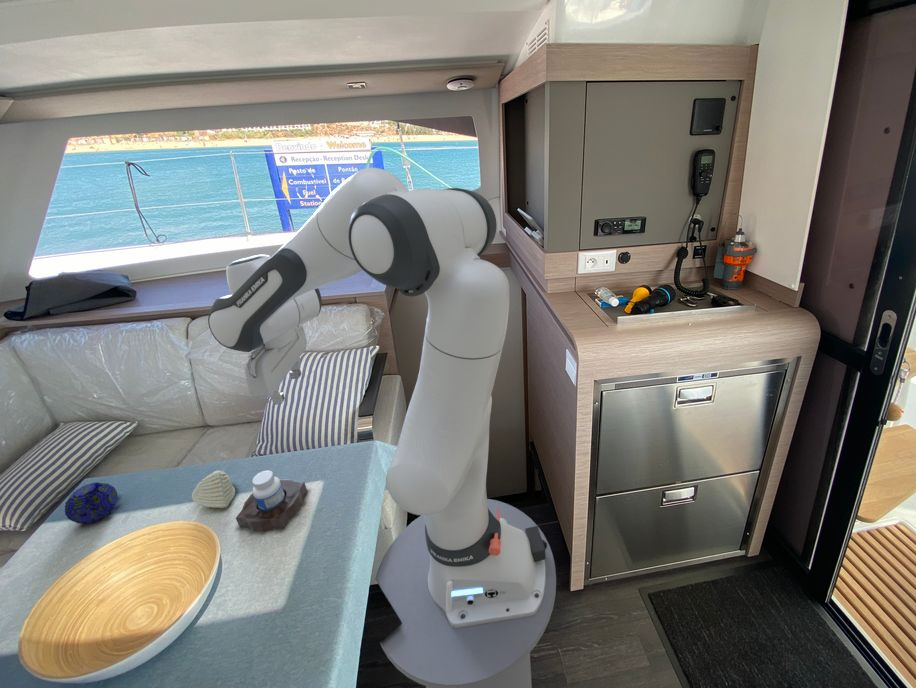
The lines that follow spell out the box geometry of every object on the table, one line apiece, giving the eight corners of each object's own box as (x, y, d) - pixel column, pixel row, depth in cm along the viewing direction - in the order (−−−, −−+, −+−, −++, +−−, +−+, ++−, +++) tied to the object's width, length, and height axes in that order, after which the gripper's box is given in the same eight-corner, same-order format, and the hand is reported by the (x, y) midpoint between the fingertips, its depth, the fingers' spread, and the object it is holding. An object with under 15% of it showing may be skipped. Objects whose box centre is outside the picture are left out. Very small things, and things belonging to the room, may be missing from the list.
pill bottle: (258, 508, 94) (245, 476, 90) (284, 494, 98) (272, 463, 94) (265, 523, 91) (251, 491, 87) (291, 509, 94) (279, 476, 90)
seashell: (225, 469, 103) (239, 464, 99) (230, 504, 101) (244, 501, 97) (186, 479, 96) (198, 475, 92) (190, 517, 95) (203, 515, 90)
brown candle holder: (312, 489, 99) (308, 479, 98) (284, 532, 88) (280, 522, 87) (267, 487, 100) (263, 478, 99) (234, 530, 89) (230, 520, 88)
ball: (87, 506, 97) (71, 482, 94) (127, 494, 100) (113, 471, 97) (69, 534, 90) (52, 509, 87) (113, 521, 93) (98, 496, 90)
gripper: (263, 357, 75) (284, 418, 81) (304, 311, 94) (318, 363, 99) (227, 360, 75) (250, 421, 80) (275, 313, 93) (291, 366, 99)
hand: (288, 389), depth 90 cm, fingers open, 8 cm apart
